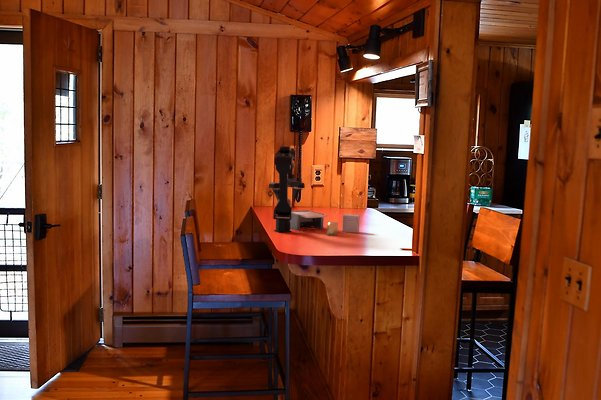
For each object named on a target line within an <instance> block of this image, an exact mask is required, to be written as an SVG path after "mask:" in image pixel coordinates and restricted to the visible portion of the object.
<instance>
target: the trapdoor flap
mask: <svg viewBox="0 0 601 400" xmlns="http://www.w3.org/2000/svg"><path fill="white" fill-rule="evenodd" d="M315 212H316V211H313V212H292V213H295V214H299V215H300V222H308V221H312V220H313V218H316V217H324V218H328V215H326V214H324V213H322V214H319V213H320V212H318V213H315ZM323 214H324V215H323Z"/></svg>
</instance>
